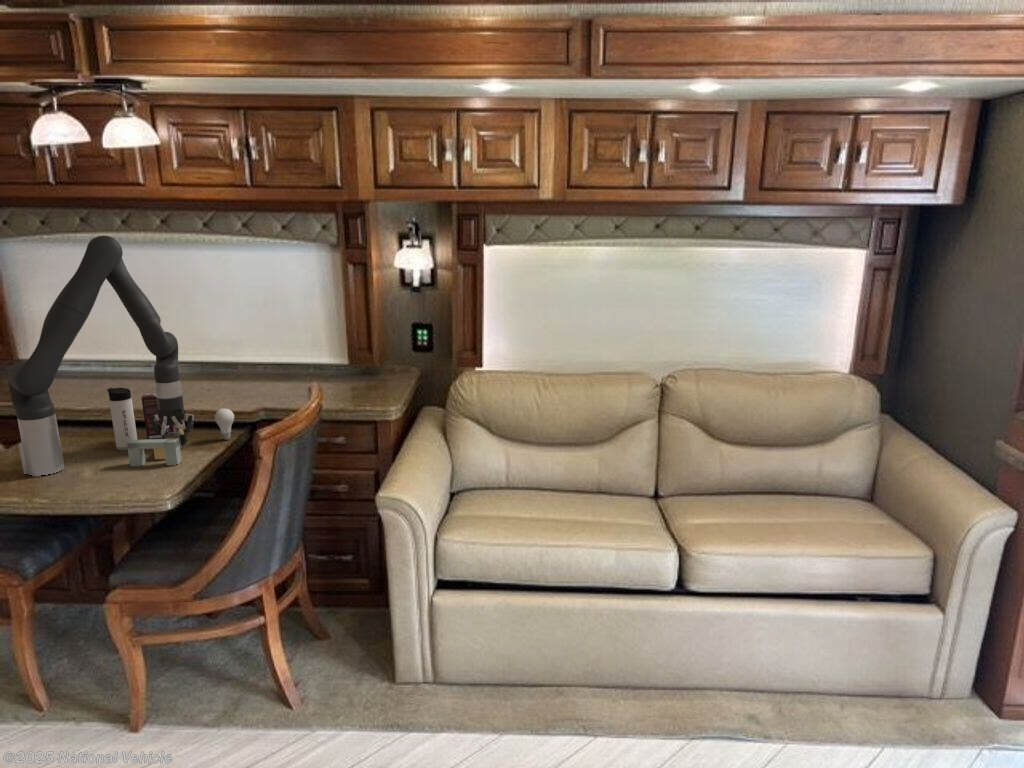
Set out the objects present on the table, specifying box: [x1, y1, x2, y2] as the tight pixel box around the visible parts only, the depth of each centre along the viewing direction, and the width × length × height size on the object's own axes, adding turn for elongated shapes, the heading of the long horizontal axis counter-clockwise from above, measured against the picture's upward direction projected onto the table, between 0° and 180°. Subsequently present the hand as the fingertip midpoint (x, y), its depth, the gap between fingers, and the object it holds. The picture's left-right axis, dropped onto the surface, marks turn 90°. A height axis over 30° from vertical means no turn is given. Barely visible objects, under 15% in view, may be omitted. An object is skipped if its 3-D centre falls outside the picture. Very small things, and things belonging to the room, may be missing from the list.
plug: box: [152, 431, 185, 460], centre depth 218 cm, size 5×14×5 cm, turn 4°
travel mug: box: [106, 387, 138, 451], centre depth 220 cm, size 6×7×20 cm
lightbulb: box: [214, 408, 235, 441], centre depth 229 cm, size 6×6×11 cm
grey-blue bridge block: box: [127, 439, 182, 467], centre depth 207 cm, size 14×3×8 cm, turn 94°
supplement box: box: [140, 392, 178, 440], centre depth 229 cm, size 9×5×16 cm, turn 105°
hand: (175, 444), depth 222 cm, fingers closed on plug, 4 cm apart
